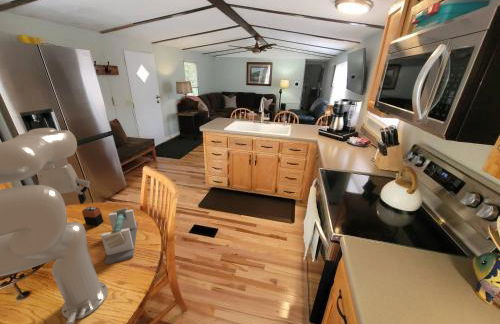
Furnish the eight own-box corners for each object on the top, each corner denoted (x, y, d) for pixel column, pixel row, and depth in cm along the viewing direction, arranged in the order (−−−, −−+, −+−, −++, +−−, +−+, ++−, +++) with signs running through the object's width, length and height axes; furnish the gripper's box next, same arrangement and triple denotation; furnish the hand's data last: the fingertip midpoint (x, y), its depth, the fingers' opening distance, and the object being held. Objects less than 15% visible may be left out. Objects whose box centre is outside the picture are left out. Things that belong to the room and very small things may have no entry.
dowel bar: (125, 243, 87) (119, 232, 84) (109, 249, 85) (103, 238, 83) (130, 216, 104) (126, 206, 102) (118, 220, 103) (112, 210, 100)
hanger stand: (133, 257, 89) (127, 235, 84) (105, 264, 85) (98, 242, 81) (137, 224, 109) (133, 205, 105) (116, 228, 106) (110, 209, 101)
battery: (97, 226, 107) (92, 210, 103) (85, 225, 107) (80, 209, 104) (104, 221, 111) (99, 205, 107) (92, 220, 111) (87, 204, 108)
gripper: (14, 170, 66) (33, 214, 72) (78, 164, 72) (91, 205, 78) (28, 162, 73) (45, 203, 79) (86, 157, 79) (97, 196, 85)
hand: (68, 204), depth 79 cm, fingers open, 9 cm apart
